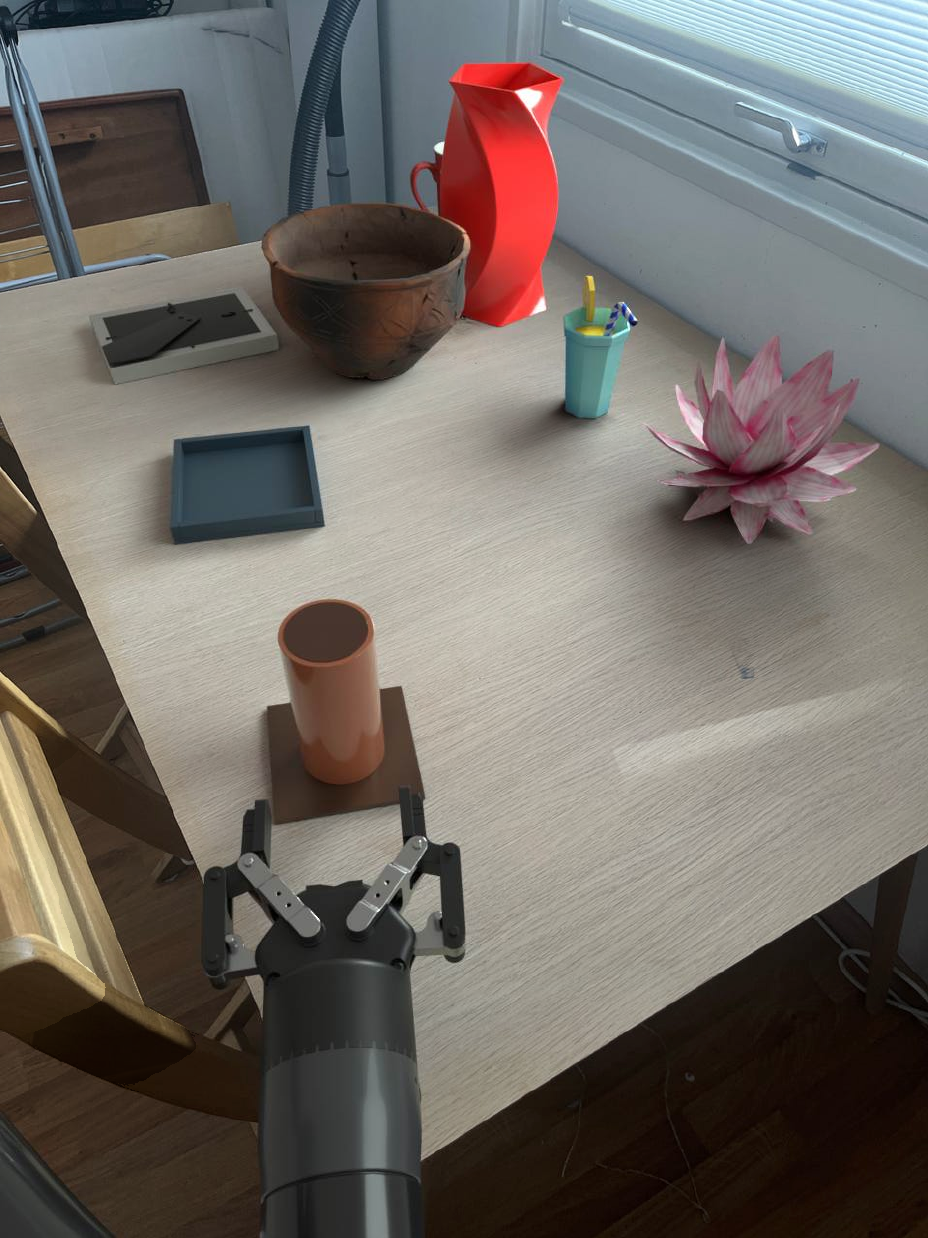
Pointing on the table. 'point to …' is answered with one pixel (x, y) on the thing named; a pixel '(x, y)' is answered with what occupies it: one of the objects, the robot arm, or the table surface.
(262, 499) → the tray
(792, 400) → the decorative flower
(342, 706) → the tumbler
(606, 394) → the cup
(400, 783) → the coaster
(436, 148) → the mug
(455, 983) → the table surface
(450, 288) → the bowl
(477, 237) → the vase
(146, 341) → the picture frame
